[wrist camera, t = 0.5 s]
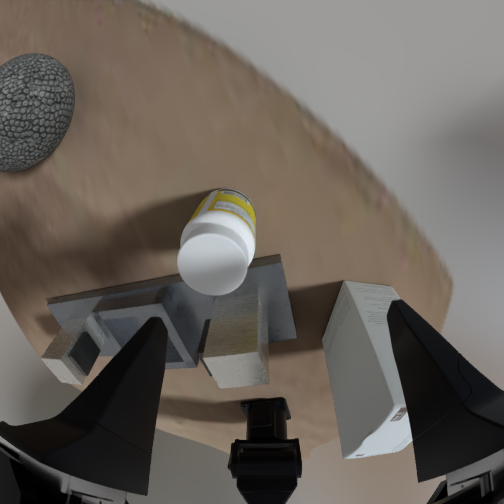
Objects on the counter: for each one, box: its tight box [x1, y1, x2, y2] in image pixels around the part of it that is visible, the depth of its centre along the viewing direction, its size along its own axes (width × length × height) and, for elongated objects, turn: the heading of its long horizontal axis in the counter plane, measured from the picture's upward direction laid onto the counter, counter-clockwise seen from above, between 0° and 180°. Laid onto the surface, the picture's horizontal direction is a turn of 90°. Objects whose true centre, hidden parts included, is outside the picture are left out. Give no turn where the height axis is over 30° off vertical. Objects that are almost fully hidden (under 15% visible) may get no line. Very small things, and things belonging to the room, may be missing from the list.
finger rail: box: [41, 254, 297, 388], centre depth 24 cm, size 9×29×8 cm, turn 104°
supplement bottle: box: [177, 188, 256, 296], centre depth 19 cm, size 5×5×8 cm
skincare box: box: [322, 281, 412, 459], centre depth 20 cm, size 8×6×15 cm
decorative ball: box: [0, 53, 75, 172], centre depth 13 cm, size 10×10×10 cm
